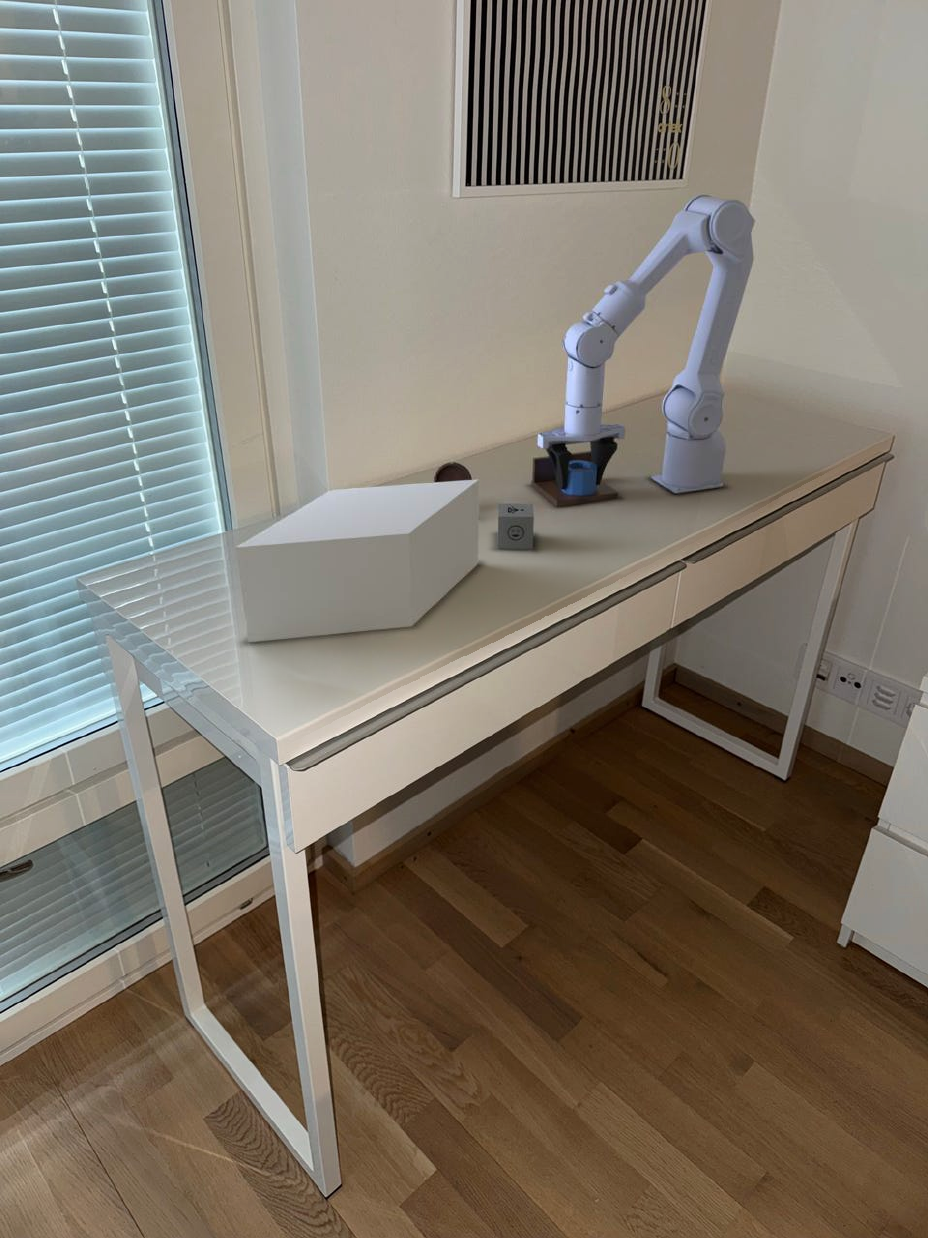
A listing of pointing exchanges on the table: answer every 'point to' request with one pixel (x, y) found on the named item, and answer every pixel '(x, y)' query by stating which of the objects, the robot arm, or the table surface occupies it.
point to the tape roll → (581, 478)
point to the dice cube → (515, 526)
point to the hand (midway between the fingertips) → (578, 485)
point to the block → (359, 560)
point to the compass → (452, 473)
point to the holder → (548, 488)
